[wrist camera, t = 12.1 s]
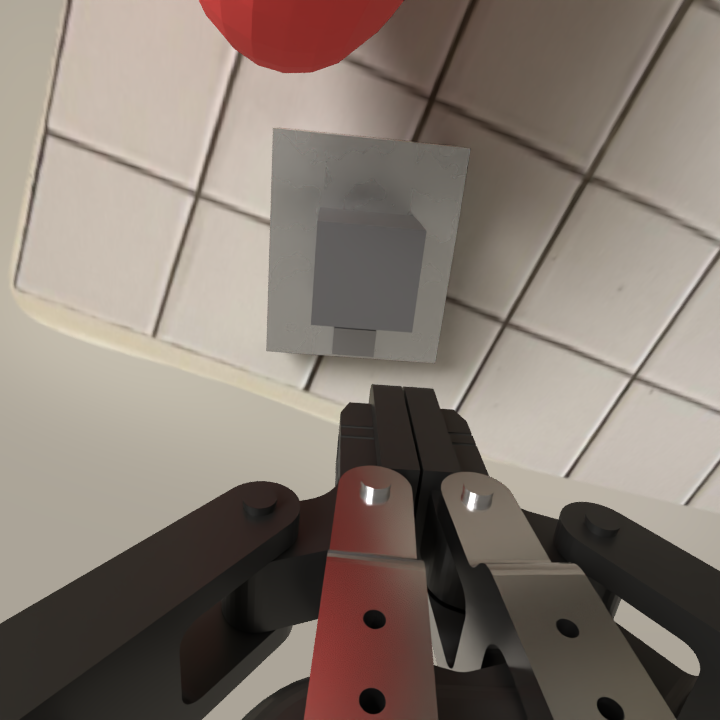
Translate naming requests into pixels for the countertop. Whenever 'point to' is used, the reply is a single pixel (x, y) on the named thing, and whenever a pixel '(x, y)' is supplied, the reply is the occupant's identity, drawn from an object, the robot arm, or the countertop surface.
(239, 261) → the countertop surface
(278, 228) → the socket plate
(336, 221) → the plug
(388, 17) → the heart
